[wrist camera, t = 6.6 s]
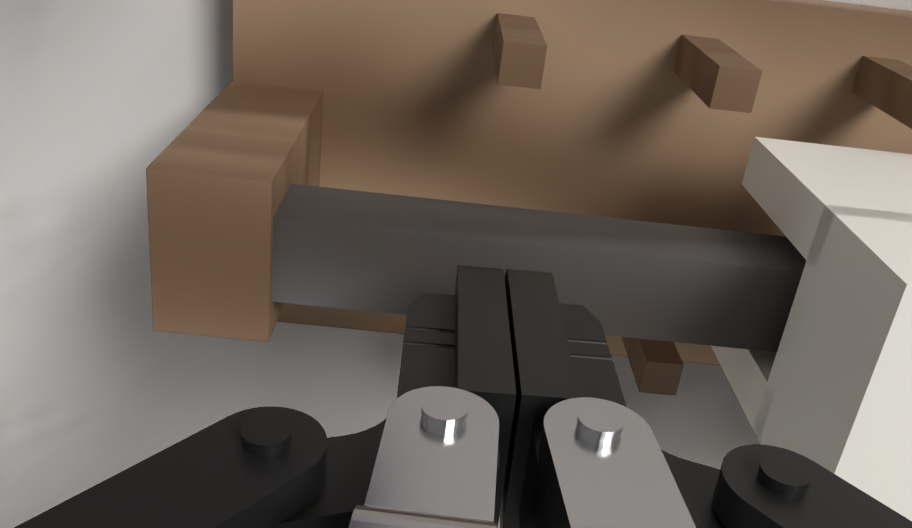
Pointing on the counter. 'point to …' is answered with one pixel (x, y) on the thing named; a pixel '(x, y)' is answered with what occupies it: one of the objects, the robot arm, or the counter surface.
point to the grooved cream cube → (838, 315)
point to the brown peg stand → (515, 162)
